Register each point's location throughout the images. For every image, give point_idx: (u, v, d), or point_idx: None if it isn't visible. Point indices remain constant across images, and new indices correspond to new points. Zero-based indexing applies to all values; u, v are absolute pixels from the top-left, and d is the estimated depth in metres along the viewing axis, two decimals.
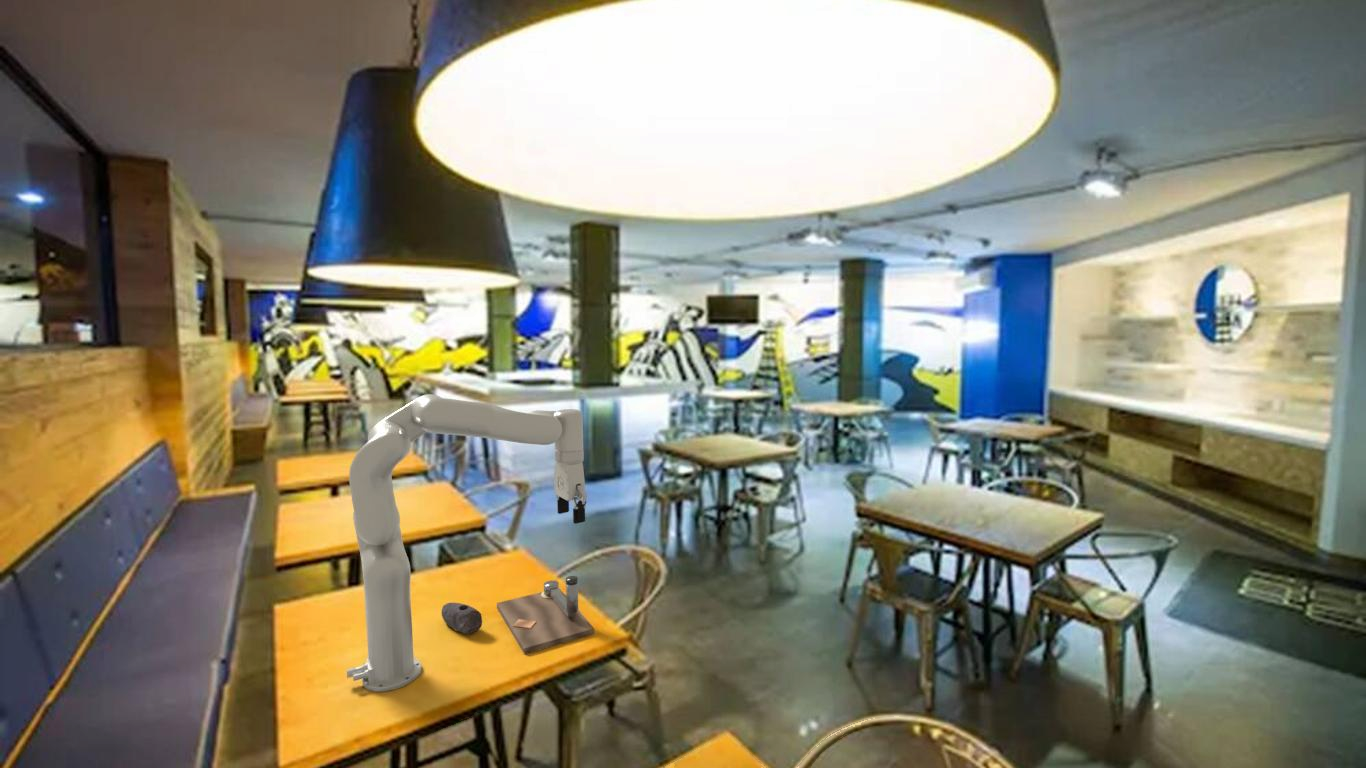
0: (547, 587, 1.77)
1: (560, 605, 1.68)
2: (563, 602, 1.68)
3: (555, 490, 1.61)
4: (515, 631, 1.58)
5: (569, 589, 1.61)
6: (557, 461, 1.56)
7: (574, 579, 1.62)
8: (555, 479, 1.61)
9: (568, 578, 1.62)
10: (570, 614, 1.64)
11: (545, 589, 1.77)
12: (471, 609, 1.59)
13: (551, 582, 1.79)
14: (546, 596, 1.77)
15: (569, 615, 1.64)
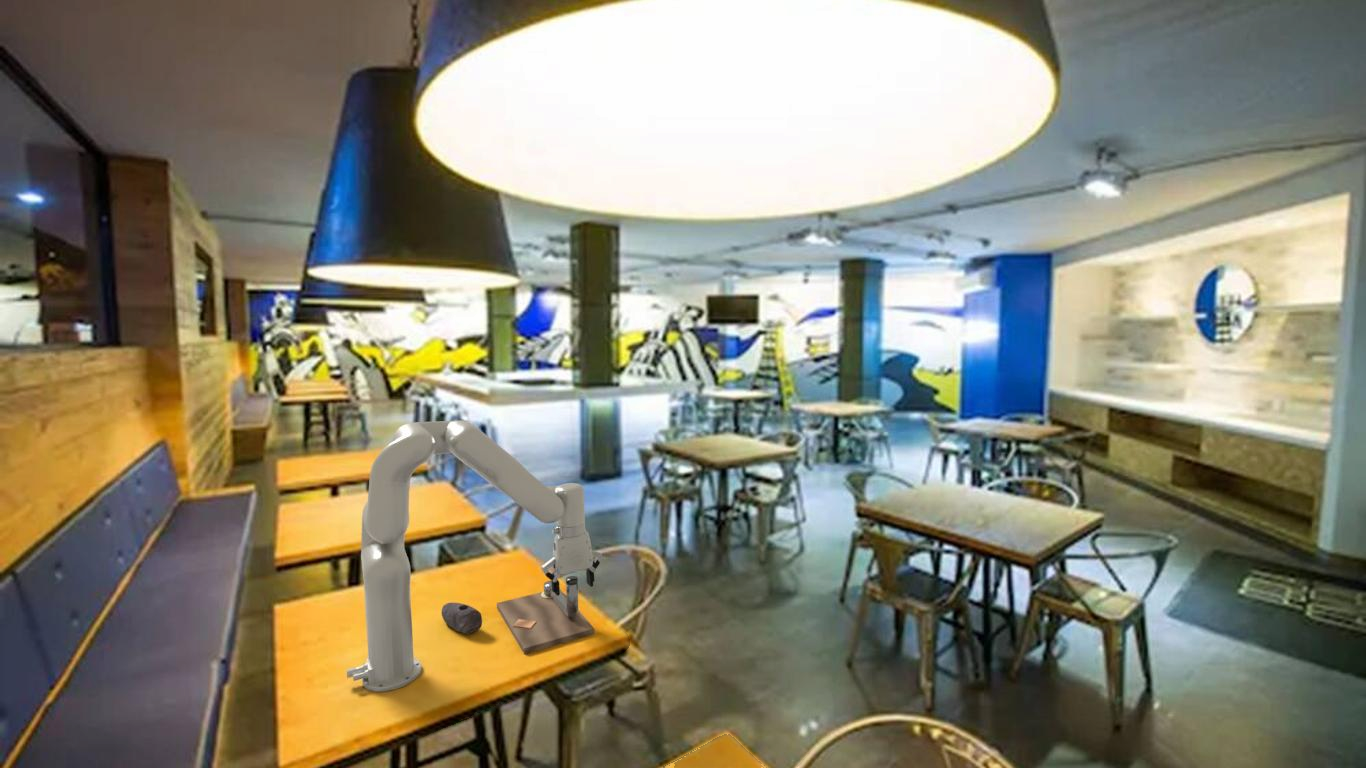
0: (547, 587, 1.77)
1: (560, 605, 1.68)
2: (563, 602, 1.68)
3: (563, 570, 1.58)
4: (515, 631, 1.58)
5: (569, 589, 1.61)
6: (577, 536, 1.58)
7: (574, 579, 1.62)
8: (563, 559, 1.58)
9: (568, 578, 1.62)
10: (570, 614, 1.64)
11: (545, 589, 1.77)
12: (471, 609, 1.59)
13: (551, 582, 1.79)
14: (546, 596, 1.77)
15: (569, 615, 1.64)
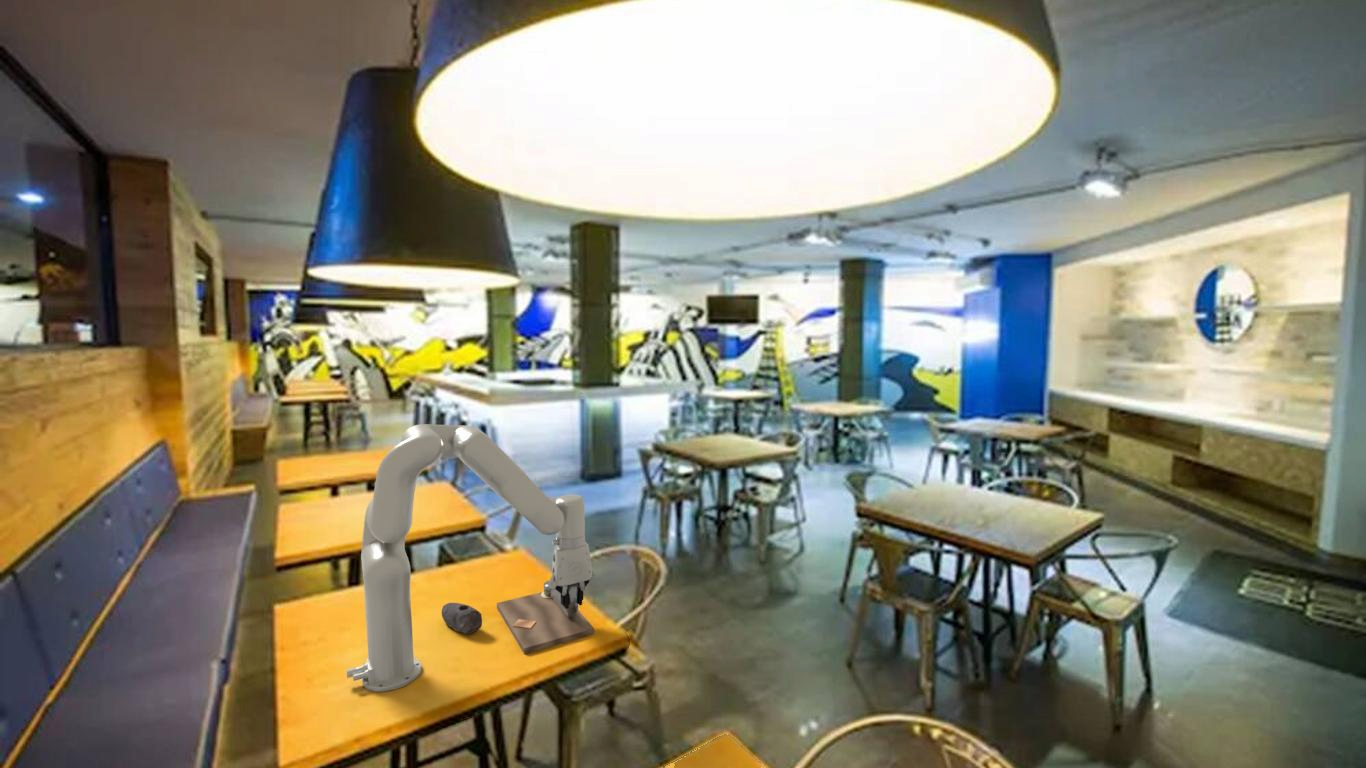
0: (547, 587, 1.77)
1: (560, 605, 1.68)
2: None
3: (562, 582, 1.58)
4: (515, 631, 1.58)
5: (569, 589, 1.61)
6: (577, 548, 1.58)
7: None
8: (562, 571, 1.58)
9: None
10: (570, 614, 1.64)
11: (545, 589, 1.77)
12: (471, 609, 1.59)
13: None
14: (546, 596, 1.77)
15: (569, 615, 1.64)
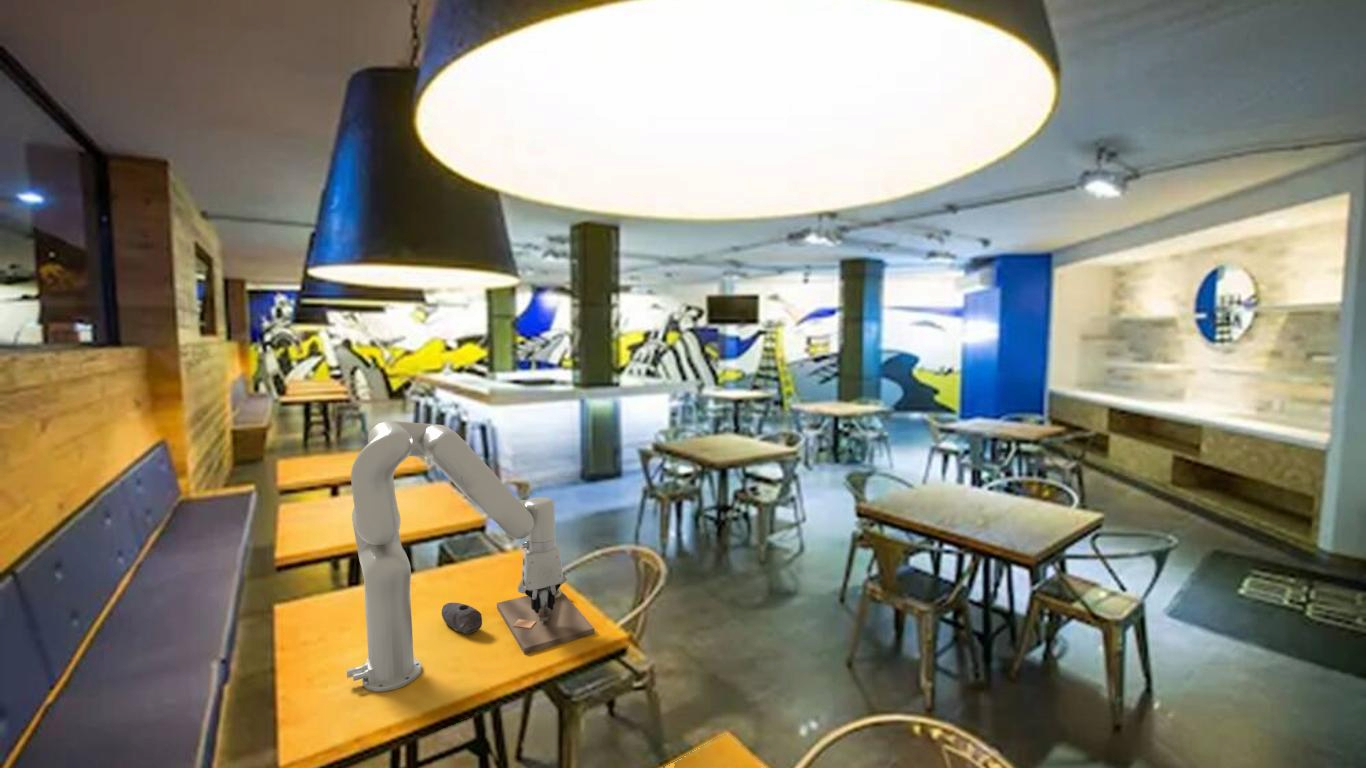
0: None
1: None
2: None
3: (532, 586, 1.56)
4: (515, 631, 1.58)
5: (538, 592, 1.59)
6: (547, 551, 1.56)
7: None
8: (532, 575, 1.55)
9: None
10: (542, 618, 1.62)
11: None
12: (471, 609, 1.59)
13: None
14: None
15: (541, 619, 1.62)
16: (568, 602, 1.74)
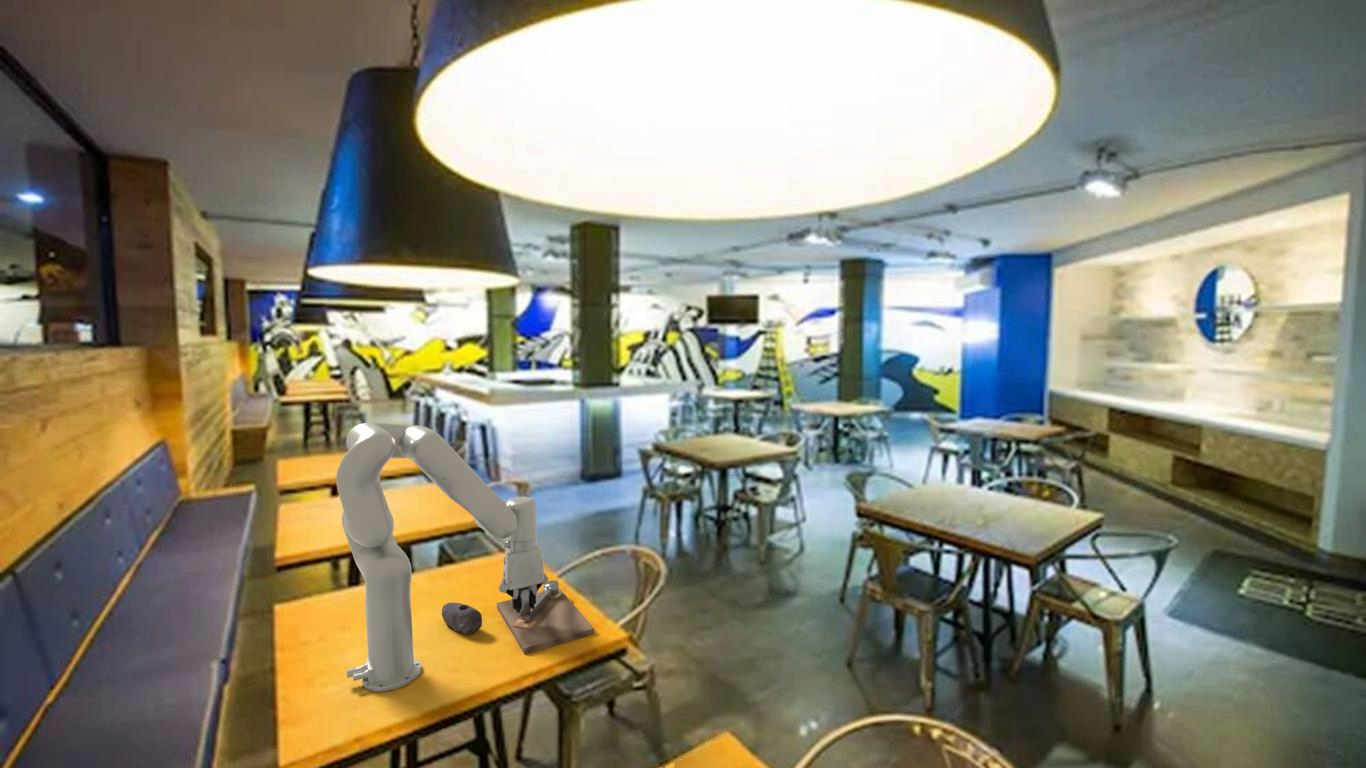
0: (544, 586, 1.78)
1: None
2: None
3: (513, 585, 1.56)
4: (515, 631, 1.58)
5: (518, 591, 1.59)
6: (528, 551, 1.56)
7: None
8: (513, 574, 1.56)
9: None
10: (524, 617, 1.62)
11: None
12: (471, 609, 1.59)
13: (553, 582, 1.79)
14: None
15: (523, 618, 1.62)
16: (568, 602, 1.74)
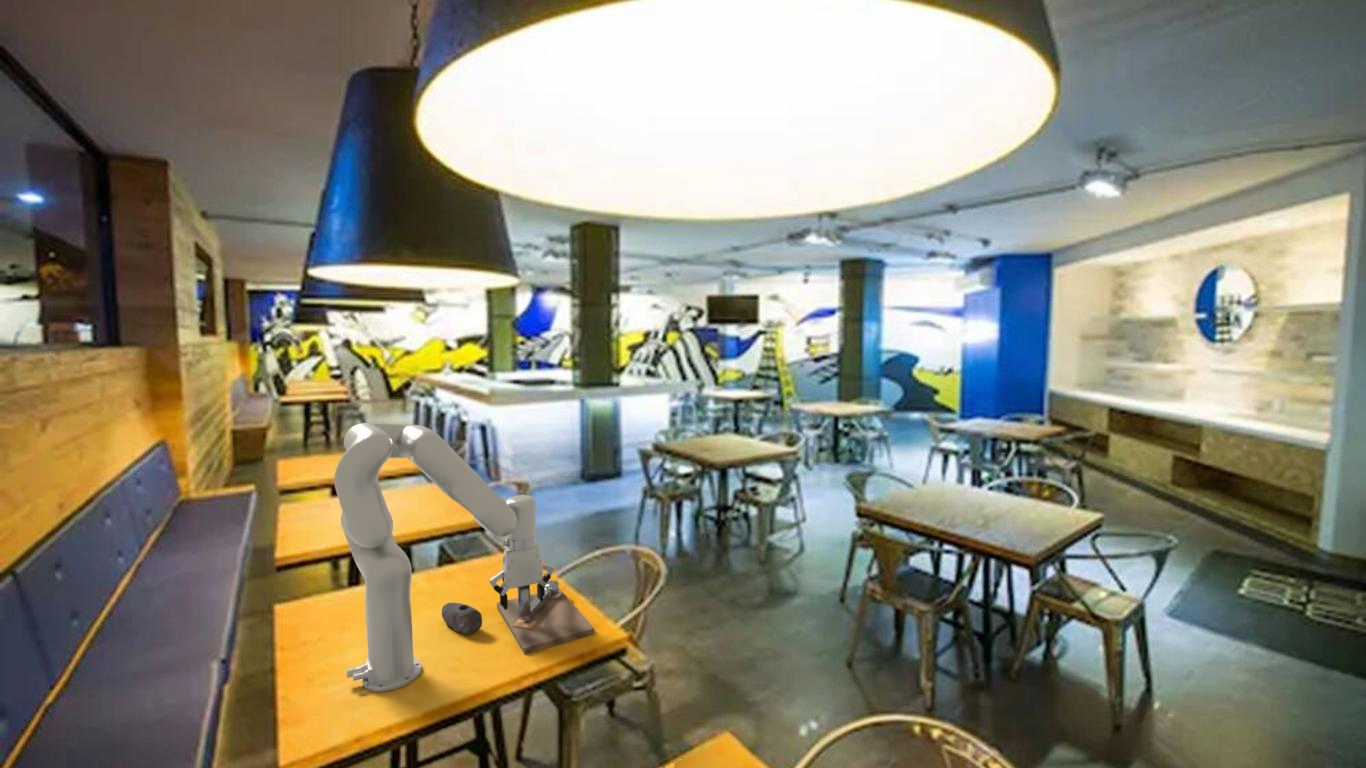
0: None
1: None
2: (531, 604, 1.67)
3: (511, 584, 1.56)
4: (515, 631, 1.58)
5: (518, 591, 1.59)
6: (527, 549, 1.56)
7: None
8: (512, 572, 1.55)
9: None
10: (524, 617, 1.62)
11: None
12: (471, 609, 1.59)
13: (553, 582, 1.79)
14: None
15: (523, 618, 1.62)
16: (568, 602, 1.74)
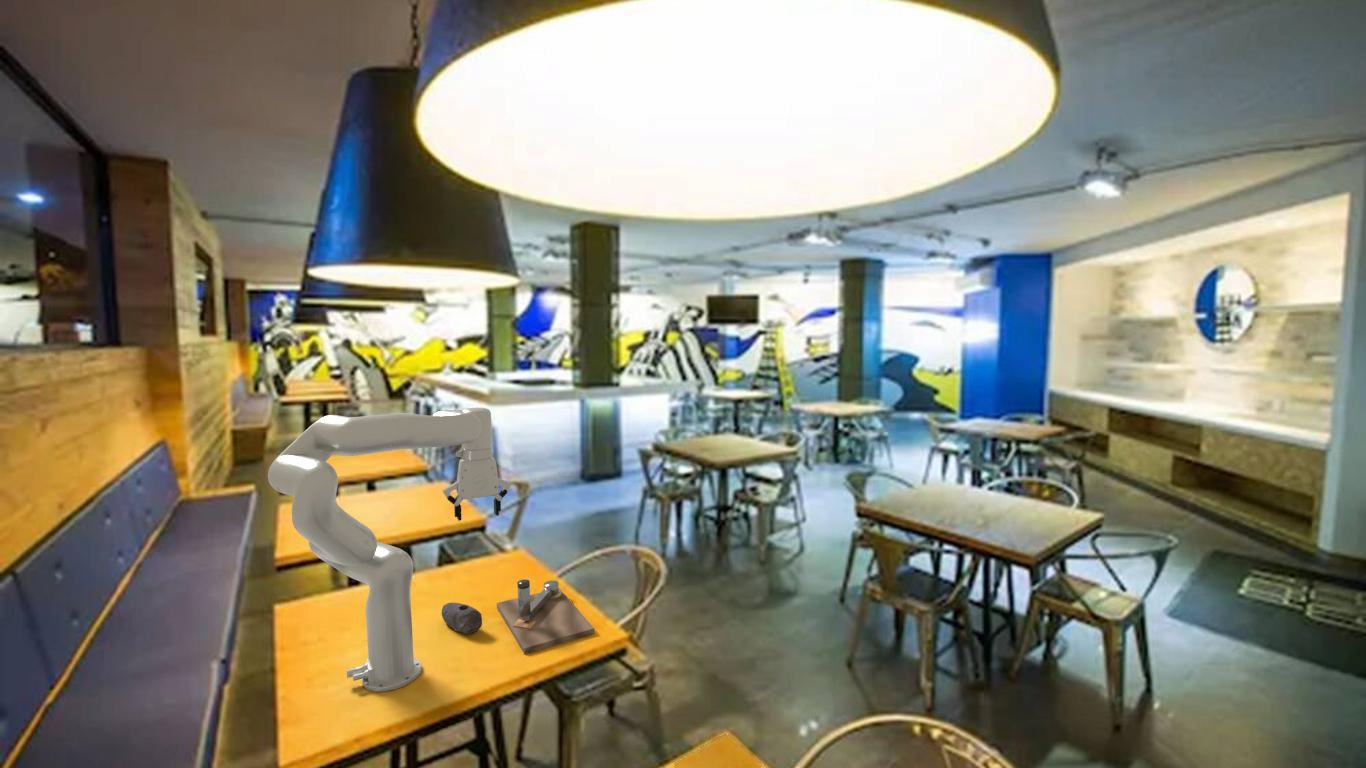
0: (544, 586, 1.78)
1: None
2: (531, 604, 1.67)
3: (465, 494, 1.55)
4: (515, 631, 1.58)
5: (518, 591, 1.59)
6: (481, 460, 1.55)
7: (523, 583, 1.59)
8: (465, 482, 1.55)
9: (521, 581, 1.61)
10: (524, 617, 1.62)
11: None
12: (471, 609, 1.59)
13: (553, 582, 1.79)
14: None
15: (523, 618, 1.62)
16: (568, 602, 1.74)
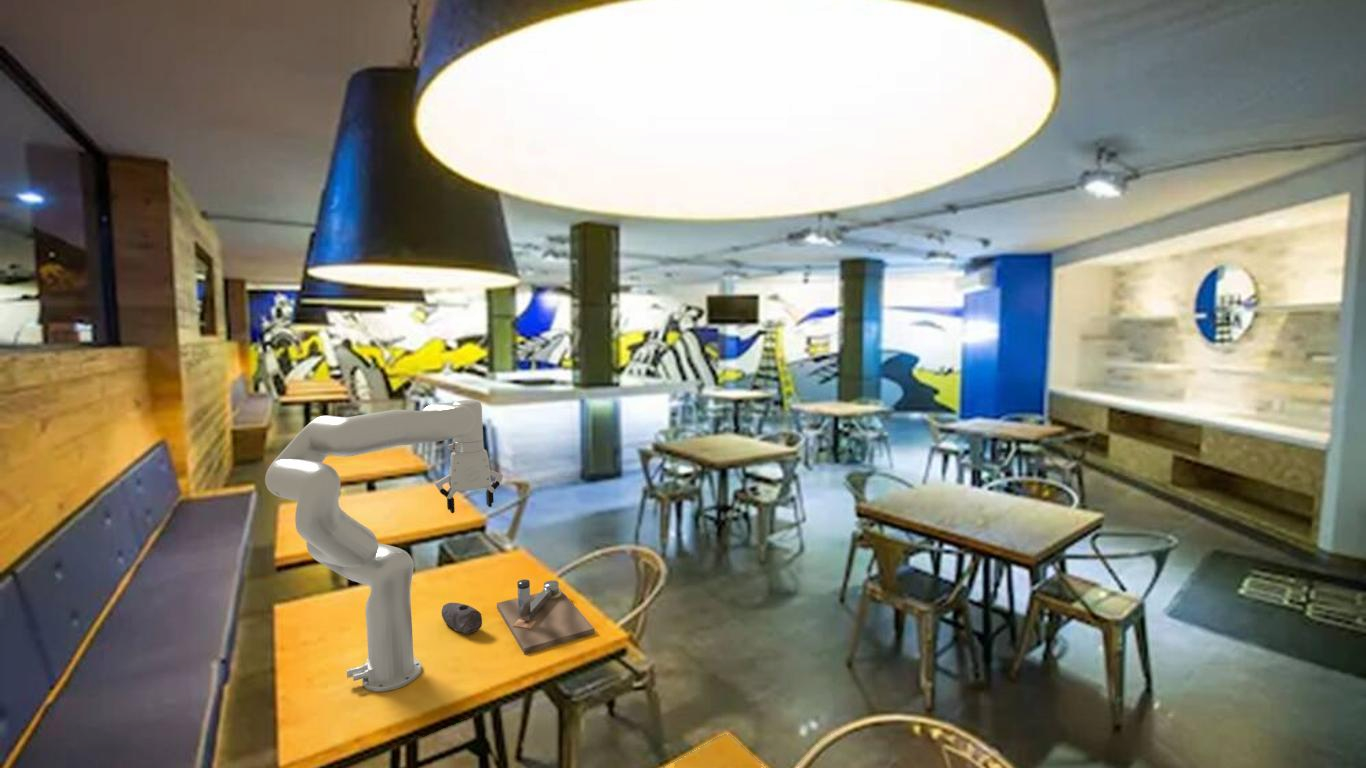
0: (544, 586, 1.78)
1: None
2: (531, 604, 1.67)
3: (458, 487, 1.55)
4: (515, 631, 1.58)
5: (518, 591, 1.59)
6: (473, 452, 1.56)
7: (523, 583, 1.59)
8: (458, 475, 1.55)
9: (521, 581, 1.61)
10: (524, 617, 1.62)
11: None
12: (471, 609, 1.59)
13: (553, 582, 1.79)
14: None
15: (523, 618, 1.62)
16: (568, 602, 1.74)
